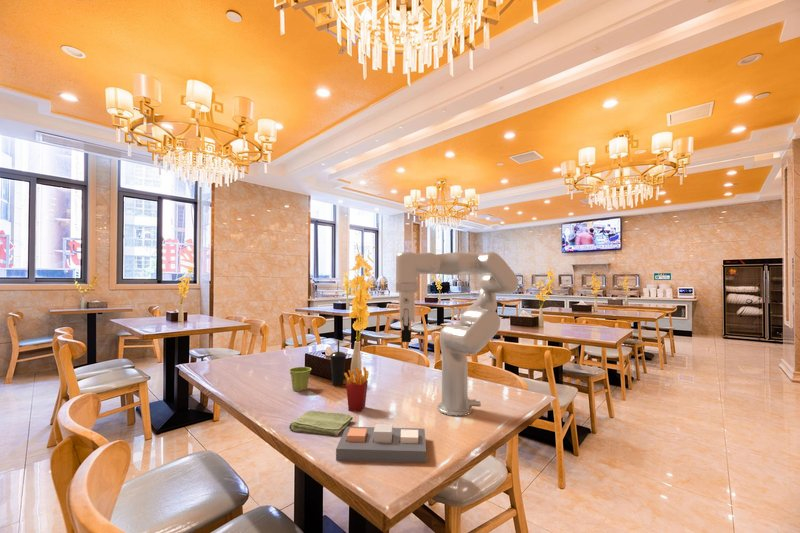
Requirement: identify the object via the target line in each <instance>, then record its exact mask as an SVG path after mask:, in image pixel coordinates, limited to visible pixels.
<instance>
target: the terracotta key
mask: <svg viewBox="0 0 800 533" xmlns="http://www.w3.org/2000/svg"><path fill="white" fill-rule="evenodd" d="M366 439H367V428H350V430H349V432H348V434H347V442H366Z"/></svg>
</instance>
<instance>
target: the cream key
mask: <svg viewBox="0 0 800 533" xmlns="http://www.w3.org/2000/svg"><path fill="white" fill-rule="evenodd" d="M400 443H413V444H418V430H404V429H401V436H400Z"/></svg>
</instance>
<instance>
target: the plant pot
mask: <svg viewBox="0 0 800 533" xmlns="http://www.w3.org/2000/svg"><path fill="white" fill-rule="evenodd" d="M311 371H312V368H311V367H308V366H296V367H291V368H290V369H289V370H288V372H289V374H290V378H291V388H292V390H293V391H295V392H301V391H306V390H307V389H308V383H309V378H310V374H311Z"/></svg>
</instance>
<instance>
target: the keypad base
mask: <svg viewBox="0 0 800 533" xmlns="http://www.w3.org/2000/svg"><path fill="white" fill-rule="evenodd" d="M350 428H367V439H366V442H347V434H348V432H349V430H350ZM374 428H375V426H371V427H370V426H346V427H345V428H344V430H343V433H342V435H341V438H340V439H339V442H338V444H337V446H336V448H335V461H343V462H345V461H346V462H349V461H350V462H355V461H356V462H377V463H378V462H380V463H381V462H382V463H383V462H384V463H385V462H386V463H388V462H390V463H411V462H426V463H427V447H426V434H425V433H426V432H425V431H426V430H425V428H418V427H417V428H416V427H415V428H412V427H411V428H410V427H393V430H392V443H377V442H374ZM401 429H404V430H418V444H413V443H400V436H401Z"/></svg>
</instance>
